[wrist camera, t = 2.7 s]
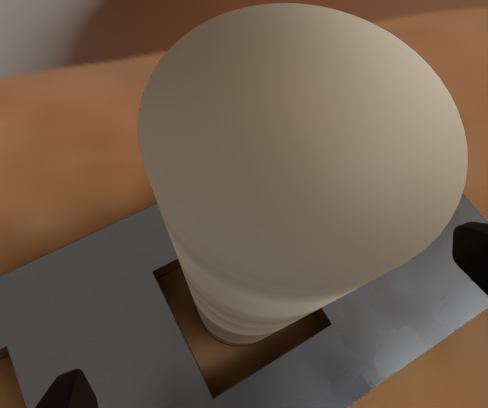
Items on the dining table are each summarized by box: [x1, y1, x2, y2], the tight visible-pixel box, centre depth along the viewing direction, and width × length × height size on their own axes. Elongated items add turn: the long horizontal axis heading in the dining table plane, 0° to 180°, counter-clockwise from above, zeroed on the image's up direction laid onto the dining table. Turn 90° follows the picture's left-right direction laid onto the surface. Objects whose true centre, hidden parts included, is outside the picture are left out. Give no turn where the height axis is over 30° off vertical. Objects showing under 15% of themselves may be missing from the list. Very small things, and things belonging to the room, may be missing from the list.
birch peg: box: [138, 3, 468, 346], centre depth 11 cm, size 4×4×15 cm
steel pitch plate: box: [0, 193, 488, 408], centre depth 17 cm, size 30×12×2 cm, turn 120°
